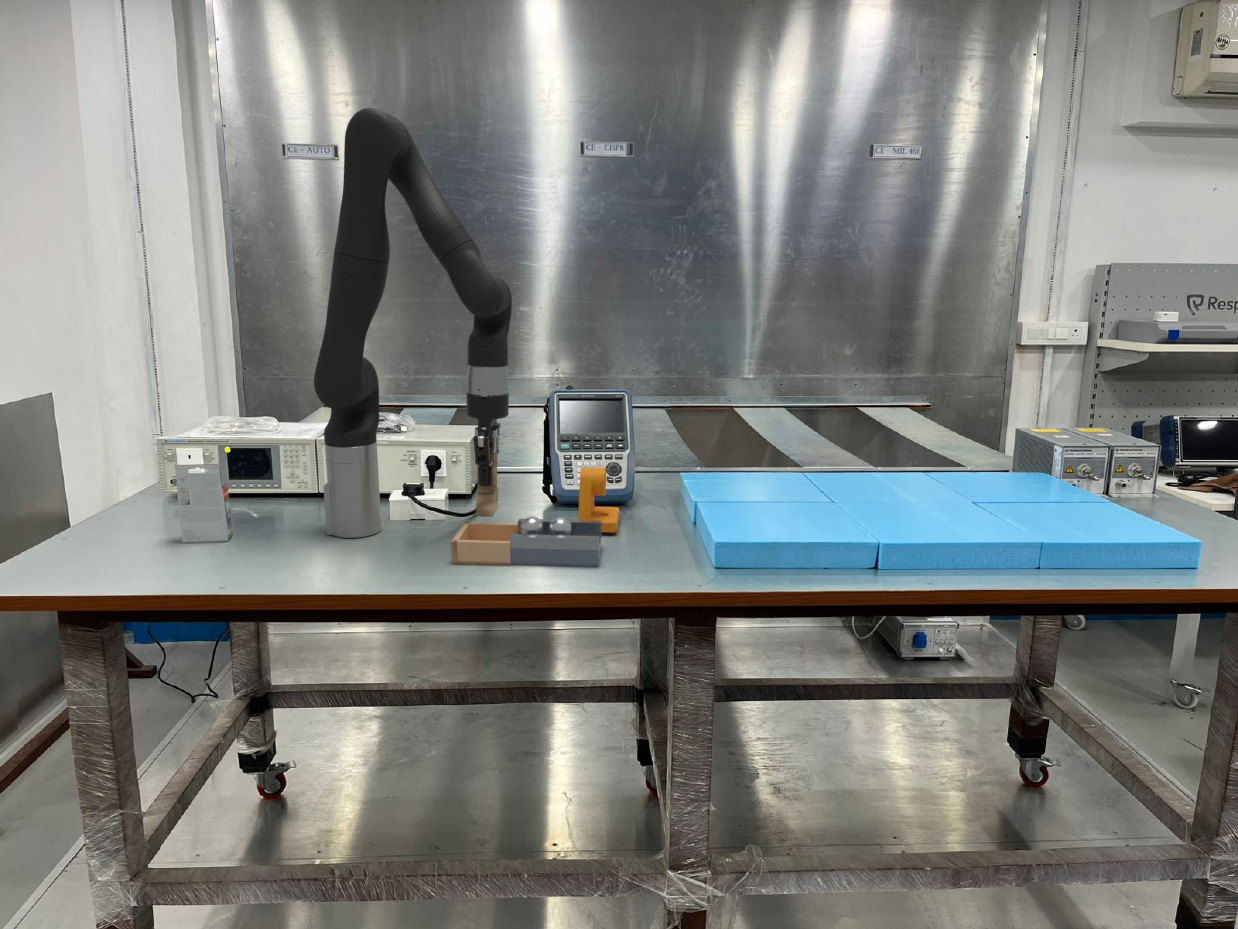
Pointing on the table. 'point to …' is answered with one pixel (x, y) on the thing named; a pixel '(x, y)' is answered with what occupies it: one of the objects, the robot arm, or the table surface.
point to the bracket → (590, 486)
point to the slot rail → (559, 545)
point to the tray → (483, 543)
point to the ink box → (203, 504)
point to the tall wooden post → (488, 491)
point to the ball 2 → (560, 526)
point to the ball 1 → (531, 526)
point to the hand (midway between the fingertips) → (487, 482)
